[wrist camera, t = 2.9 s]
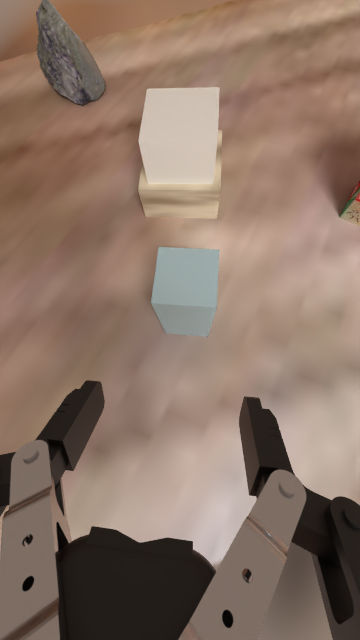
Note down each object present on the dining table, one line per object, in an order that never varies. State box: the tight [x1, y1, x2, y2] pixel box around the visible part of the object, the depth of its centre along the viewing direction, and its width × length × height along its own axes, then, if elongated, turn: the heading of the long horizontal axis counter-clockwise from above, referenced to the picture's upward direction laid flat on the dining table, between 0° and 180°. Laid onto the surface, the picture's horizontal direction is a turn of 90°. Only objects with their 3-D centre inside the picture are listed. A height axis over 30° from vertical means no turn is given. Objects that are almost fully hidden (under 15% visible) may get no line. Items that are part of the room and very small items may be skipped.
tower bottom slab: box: [138, 130, 222, 218], centre depth 31 cm, size 10×10×5 cm
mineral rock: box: [36, 0, 105, 105], centre depth 37 cm, size 13×11×10 cm
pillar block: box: [151, 247, 219, 337], centre depth 23 cm, size 5×5×10 cm
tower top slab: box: [138, 87, 219, 184], centre depth 26 cm, size 8×8×5 cm
